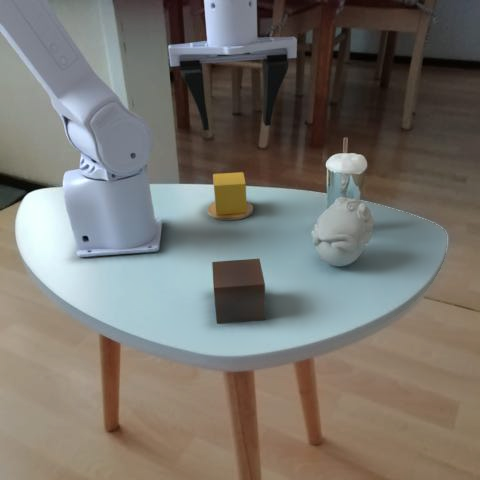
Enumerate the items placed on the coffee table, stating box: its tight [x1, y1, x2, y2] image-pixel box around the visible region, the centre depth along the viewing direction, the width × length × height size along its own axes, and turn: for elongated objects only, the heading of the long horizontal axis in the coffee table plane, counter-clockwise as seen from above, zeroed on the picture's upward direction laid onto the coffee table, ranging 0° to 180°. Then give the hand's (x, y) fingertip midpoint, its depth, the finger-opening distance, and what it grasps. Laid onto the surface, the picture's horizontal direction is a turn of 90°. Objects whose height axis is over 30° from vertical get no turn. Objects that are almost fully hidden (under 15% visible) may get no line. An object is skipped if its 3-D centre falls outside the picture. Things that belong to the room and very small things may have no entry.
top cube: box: [212, 171, 247, 215], centre depth 64 cm, size 4×4×4 cm
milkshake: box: [325, 137, 368, 210], centre depth 57 cm, size 4×5×10 cm
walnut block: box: [211, 257, 266, 324], centre depth 47 cm, size 5×5×4 cm
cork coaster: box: [207, 200, 254, 222], centre depth 65 cm, size 6×6×1 cm
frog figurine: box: [311, 197, 375, 267], centre depth 52 cm, size 6×7×7 cm
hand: (236, 125), depth 61 cm, fingers open, 7 cm apart
